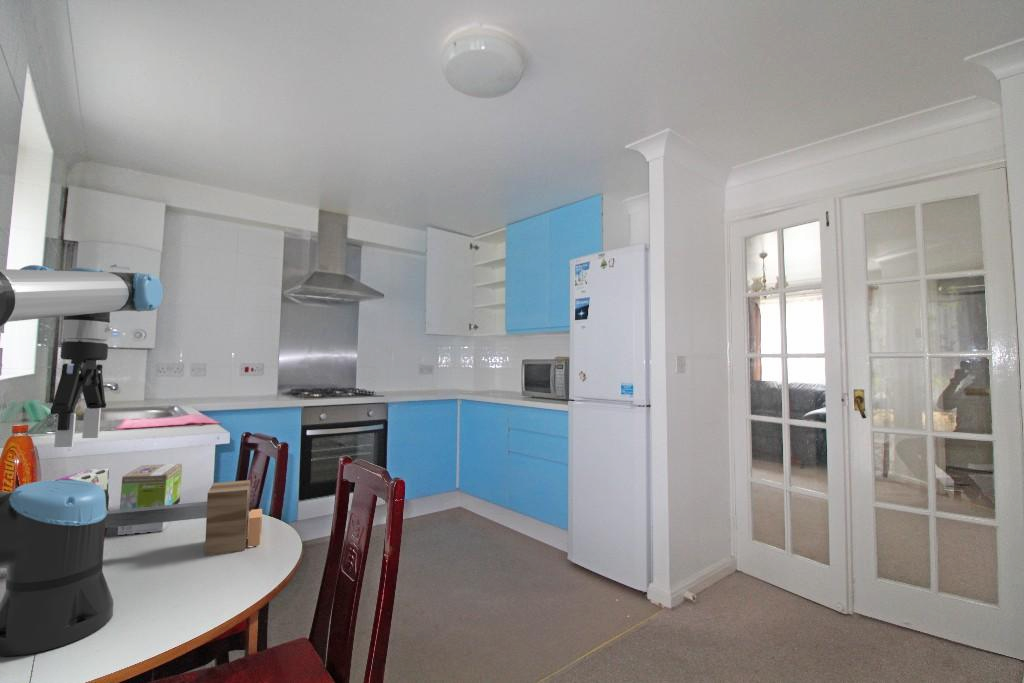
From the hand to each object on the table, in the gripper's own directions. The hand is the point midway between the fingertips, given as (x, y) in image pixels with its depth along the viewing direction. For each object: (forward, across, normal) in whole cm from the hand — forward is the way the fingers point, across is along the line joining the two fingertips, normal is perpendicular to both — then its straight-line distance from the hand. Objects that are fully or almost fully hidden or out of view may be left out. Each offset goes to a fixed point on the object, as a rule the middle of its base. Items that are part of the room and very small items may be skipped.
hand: (78, 442), depth 102 cm
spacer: (+26, +5, -34) cm, 43 cm away
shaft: (+19, +4, -13) cm, 24 cm away
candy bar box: (+26, +19, +4) cm, 33 cm away
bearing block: (+26, +5, -28) cm, 39 cm away
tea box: (+26, +28, -8) cm, 39 cm away
